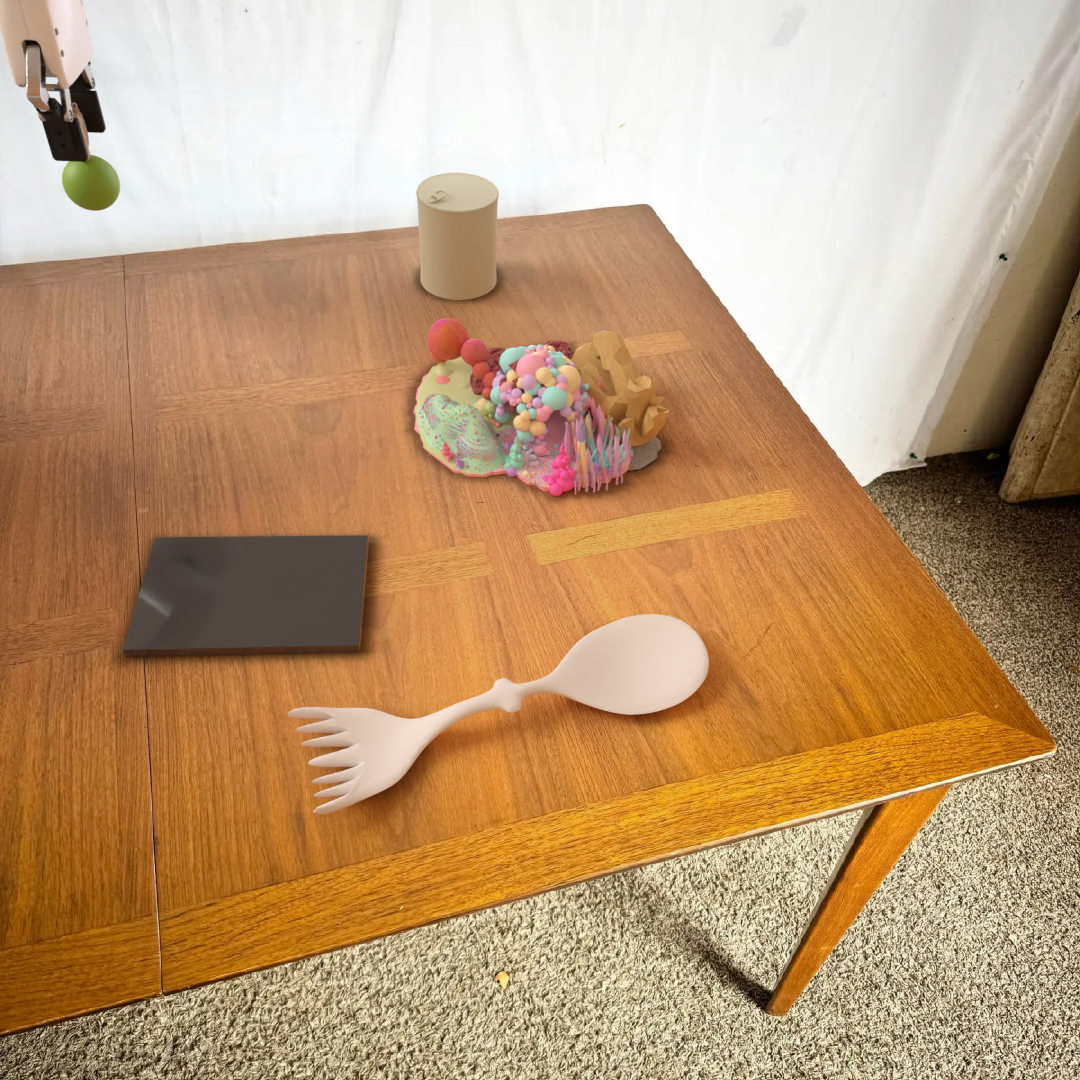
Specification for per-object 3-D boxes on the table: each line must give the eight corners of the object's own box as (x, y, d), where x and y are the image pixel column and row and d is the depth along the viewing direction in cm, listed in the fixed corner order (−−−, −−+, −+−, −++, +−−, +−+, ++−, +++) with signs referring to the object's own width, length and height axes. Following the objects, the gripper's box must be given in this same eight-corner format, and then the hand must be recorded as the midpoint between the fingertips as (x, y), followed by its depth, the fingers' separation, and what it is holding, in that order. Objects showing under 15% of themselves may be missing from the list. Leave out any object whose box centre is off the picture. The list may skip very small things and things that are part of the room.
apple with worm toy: (74, 227, 98) (38, 106, 89) (67, 199, 102) (33, 81, 93) (130, 220, 100) (100, 101, 91) (121, 193, 104) (92, 76, 95)
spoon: (290, 731, 71) (284, 704, 69) (670, 615, 81) (676, 588, 78) (319, 837, 66) (313, 812, 63) (724, 699, 75) (732, 673, 73)
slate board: (127, 661, 75) (122, 649, 74) (159, 548, 83) (155, 536, 82) (360, 656, 76) (358, 645, 75) (369, 546, 85) (368, 534, 84)
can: (404, 279, 115) (398, 183, 106) (463, 254, 119) (463, 160, 111) (453, 313, 110) (451, 215, 102) (513, 286, 115) (516, 191, 106)
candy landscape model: (612, 339, 108) (621, 266, 101) (698, 477, 93) (715, 402, 86) (393, 372, 102) (387, 296, 95) (446, 525, 87) (444, 448, 80)
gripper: (10, -90, 89) (66, 109, 101) (-60, -35, 77) (14, 183, 89) (94, -85, 89) (139, 112, 102) (39, -30, 77) (97, 186, 90)
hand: (80, 143), depth 96 cm, fingers closed on apple with worm toy, 6 cm apart
